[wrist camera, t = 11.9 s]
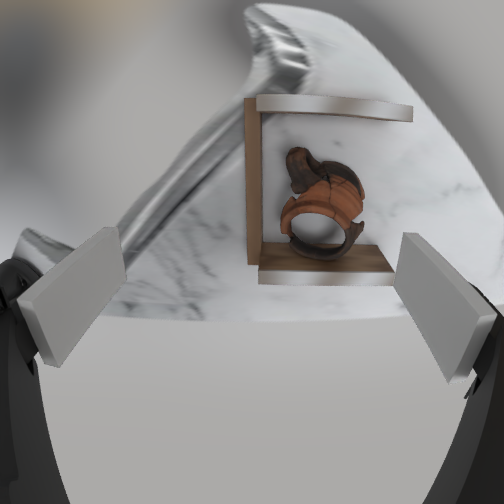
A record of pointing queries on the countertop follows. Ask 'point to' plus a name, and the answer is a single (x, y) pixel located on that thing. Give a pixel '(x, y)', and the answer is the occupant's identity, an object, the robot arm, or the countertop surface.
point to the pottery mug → (322, 200)
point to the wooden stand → (296, 265)
